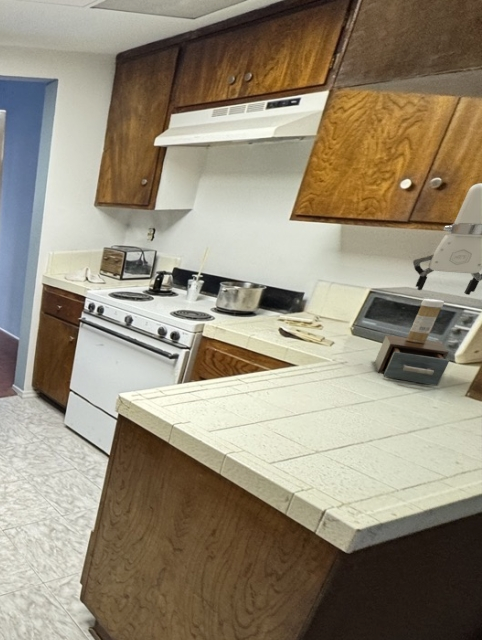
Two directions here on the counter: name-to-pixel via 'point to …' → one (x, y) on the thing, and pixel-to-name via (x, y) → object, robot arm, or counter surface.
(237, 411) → the counter surface
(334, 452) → the counter surface
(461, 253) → the robot arm
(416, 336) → the sprinkles bottle
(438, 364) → the drawer
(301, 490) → the counter surface
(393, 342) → the cabinet
